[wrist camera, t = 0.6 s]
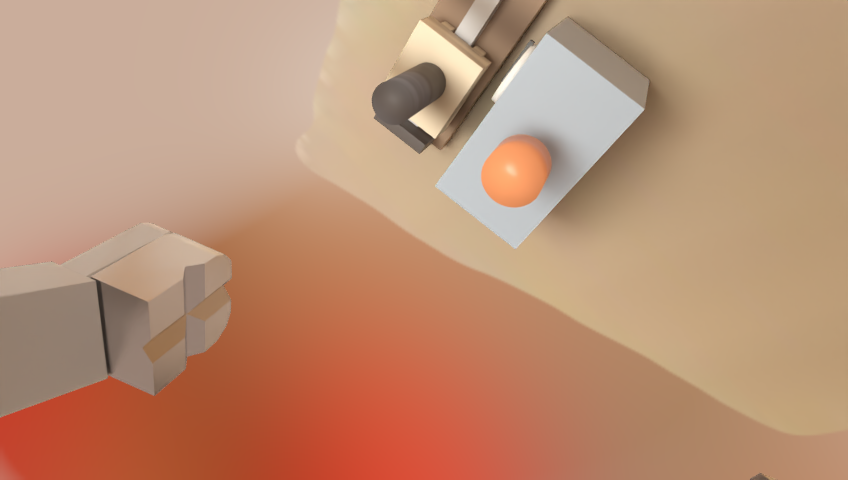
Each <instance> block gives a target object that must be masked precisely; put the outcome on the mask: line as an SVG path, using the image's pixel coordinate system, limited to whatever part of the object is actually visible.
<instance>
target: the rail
mask: <svg viewBox="0 0 848 480" xmlns="http://www.w3.org/2000/svg"><path fill="white" fill-rule="evenodd" d="M547 1H548V0H439V1H438V3H437V4H436V6H435V8H434V10H433V11H432V13H431V15H430V16H433V17H434V18H435V19H436V20H438V21H439V22H440V23H442V22H444V21H446V22H448V23H449V24H450V25H452V26H453V27H454V28H455V30H454V32H453V33H454V34H456V35H457V36H458V37H459V38H461V39H462V40H463V41H465V42H466V43H467V44H468V45H470V46H471V47H472V48H473V47H475V46H478V47H480V48H481V49H482V50H484V51H485V52H486V55H485V56H484V57H485V58H486V59H488V60H489V61H490V62H492V63H491V64H490V66H489V67H488V69H487V70H486V72H485V73H484V75H483V76H482V77H481V79H480V80H479V82H478V83H477V85H476V86H475V88H474V89H473V91H472V92H471V93H470V95H469V96H468V98H467V99H466V101H465V102H464V104H463V105H462V106H461V108H460V109H459V111H458V112H457V114H456V115H455V117H454V118H453V120H452V121H451V122H450V124H449V125H448V127H447V128H446V130H445V131H444V132H443V133H441V134H440V135H439V136H438V137H437V138H436V139H434V138H433V137H432V136H431V135H429V134H428V133H427V132H425V131H424V130H423V129H422V128H420V127H419V126H418V125H417V124H415V123H414V122H413V121H411V120H410V119H408V120H406V121H405V122H404V123H402V124H399V125H390V124H387V123H385V122H383V121H382V120H381V119H379V117H378V116H377V115H375V117H374V119H376V120H377V121H378V122H379V123H381V124H382V125H383V126H385V127H386V128H387V129H388V130H390V131H391V132H392V133H393V134H395V135H396V136H397V137H399V138H400V139H401V140H402V141H404V142H405V143H406V144H407V145H409V146H410V147H411V148H413V149H414V150H415V151H416V152H418V153H419V154H420V153H421V152H422V151H423V150H424V149H426V148H427V147H428V146H429V145H430V144H431V143H432V144H433V145H434V146H436V147H437V148H438V149H439V150H441V149H442V148H443V147H444V146H445V145H446V144H447V143H448V141H449V140H450V138H451V137H452V136H453V134H454V133H455V131H456V130H457V129H458V127H459V126H460V124H461V123H462V121H463V120H464V119H465V117H466V116H467V114H468V113H469V111H470V110H471V109H472V107H473V106H474V104H475V103H476V102H477V100H478V99H479V97H480V96H481V94H482V93H483V92H484V90H485V89H486V87H487V86H488V84H489V83H490V82H491V80H492V79H493V77H494V76H495V75H496V73H497V72H498V70H499V69H500V67H501V66H502V65H503V63H504V62H505V60H506V59H507V57H508V56H509V55H510V53H511V52H512V50H513V49H514V48H515V46H516V45H517V43H518V42H519V40H520V39H521V38H522V36H523V35H524V33H525V32H526V31H527V29H528V28H529V26H530V25H531V23H532V22H533V21H534V19H535V18H536V16H537V15H538V13H539V12H540V11H541V9H542V8H543V6H544V5H545V4H546V2H547ZM430 16H429V17H430Z"/></svg>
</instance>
